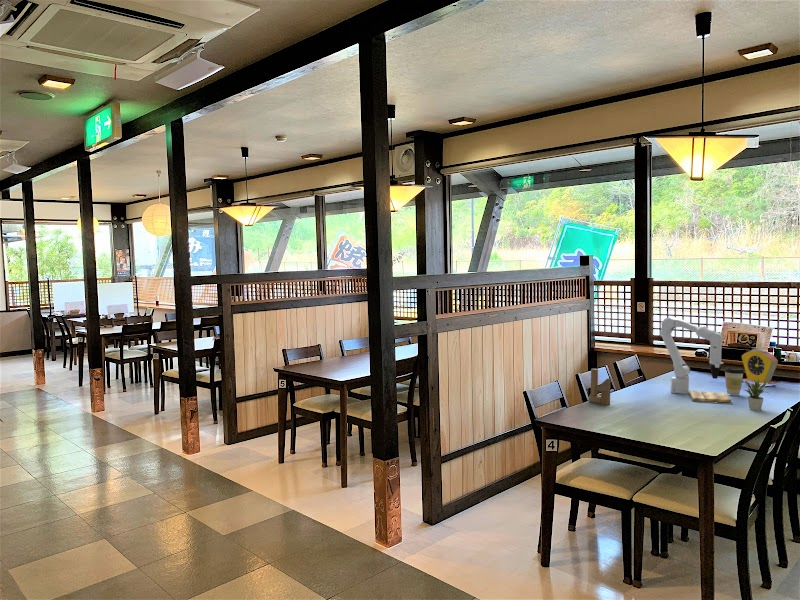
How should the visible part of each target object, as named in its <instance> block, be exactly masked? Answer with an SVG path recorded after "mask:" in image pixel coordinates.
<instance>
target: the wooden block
mask: <svg viewBox="0 0 800 600" xmlns="http://www.w3.org/2000/svg"><path fill="white" fill-rule="evenodd" d="M598 380H599V369H598V368H591V369H590V394H589V395H588V402H590V403H593V404H598V403H599V405H603V404H604V406H609V405H611V383H612V382H611V381H612V380H611V377H610V378H606V379H605V380H604V381H603V382H602V383H600V384H599V381H598ZM598 391H600V395H599V394H598Z"/></svg>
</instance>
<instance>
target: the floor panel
mask: <svg viewBox="0 0 800 600" xmlns="http://www.w3.org/2000/svg"><path fill="white" fill-rule="evenodd" d="M688 395H689V397H690V396H691V397H690V398H692V399H691V401H692V402H694V401H702V402H701V403H708V402H713V401H706V400H705V397H704V395H714V396H728V395H727V392H717V391H716V392H715V391H714V392H713V391H702V390H689V394H688ZM723 403H731V404H730V405H733V402H732V401H731V402H717V403H716V404H723Z"/></svg>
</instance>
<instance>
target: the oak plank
mask: <svg viewBox="0 0 800 600" xmlns="http://www.w3.org/2000/svg"><path fill="white" fill-rule="evenodd" d="M704 397H705V400H706V401H713V402H732V399H731V397H729V395H727V396H714V395H704Z"/></svg>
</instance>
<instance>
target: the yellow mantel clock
mask: <svg viewBox="0 0 800 600" xmlns="http://www.w3.org/2000/svg"><path fill="white" fill-rule="evenodd" d="M741 360H742V363H743V367H744V370H745V371H744V372H745V375H746V378H743V379H742V380H746V381H751V382H754V380H755V382H756V381H757V380H758V379H759V383H766V382H768V383H771V380H772V377H773V376H774V372H775V371H776V368H777V367H778V366H777V365H778V364H779V363H778V362H779V360H778V359H777V358H776V356H774V355H773V354H772V353H770V352H768V351H767V350H765V349H763V348H755V349H751V350H750V351H746V352H745V353H743V354H742V355H741ZM753 378H754V379H753ZM772 383H773V384H776V383H775V382H772Z"/></svg>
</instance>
